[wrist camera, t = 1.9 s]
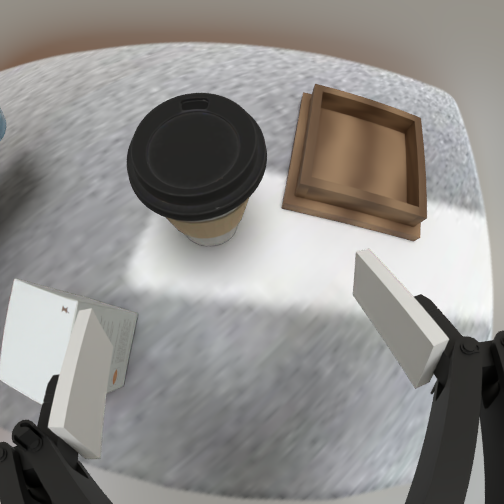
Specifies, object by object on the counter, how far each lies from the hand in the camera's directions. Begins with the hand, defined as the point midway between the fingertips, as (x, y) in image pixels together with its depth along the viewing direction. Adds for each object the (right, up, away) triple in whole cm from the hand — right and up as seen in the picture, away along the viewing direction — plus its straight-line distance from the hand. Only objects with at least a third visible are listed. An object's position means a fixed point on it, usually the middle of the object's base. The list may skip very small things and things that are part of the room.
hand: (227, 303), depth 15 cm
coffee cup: (-3, +6, +18) cm, 19 cm away
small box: (-14, -7, +15) cm, 21 cm away
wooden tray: (+14, +13, +21) cm, 28 cm away
